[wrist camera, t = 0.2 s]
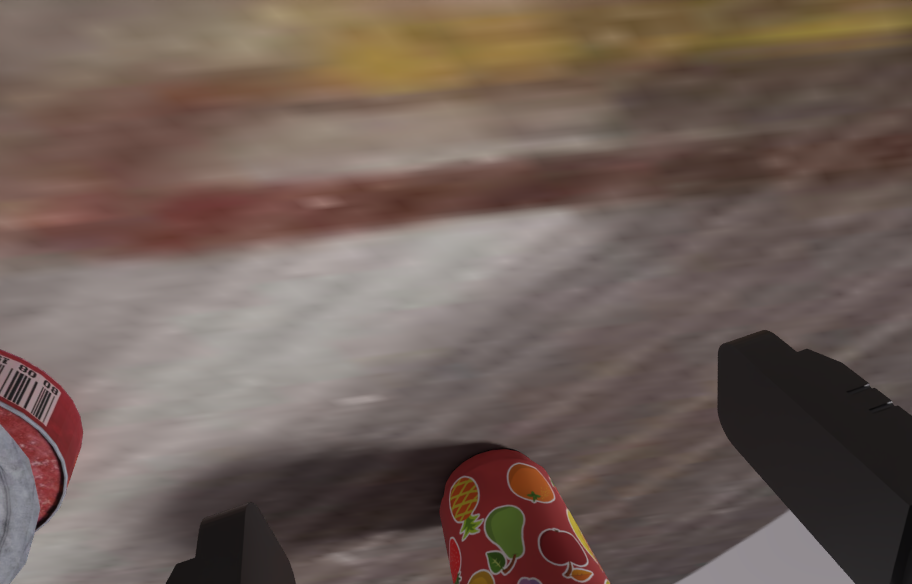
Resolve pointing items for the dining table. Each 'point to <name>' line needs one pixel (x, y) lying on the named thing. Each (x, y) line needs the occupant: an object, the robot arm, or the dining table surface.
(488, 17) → the dining table surface
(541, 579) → the smoothie
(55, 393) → the canned food
